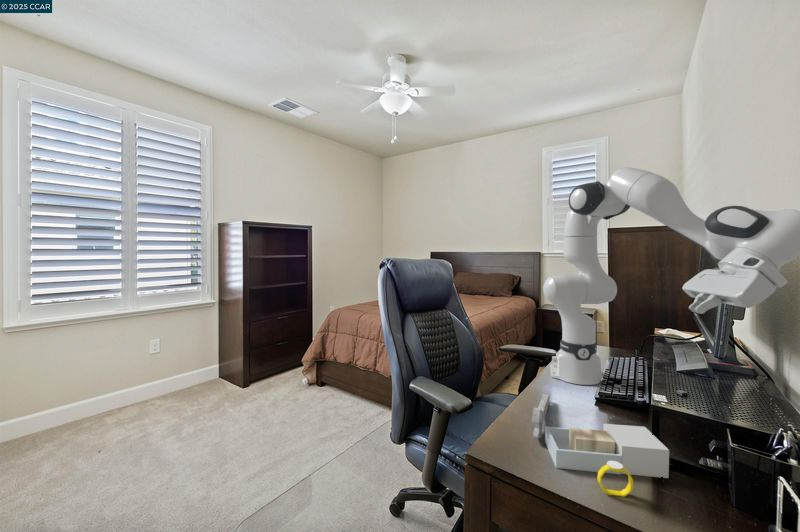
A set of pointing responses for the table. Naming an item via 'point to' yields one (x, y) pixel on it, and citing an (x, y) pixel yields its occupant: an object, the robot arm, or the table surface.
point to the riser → (639, 450)
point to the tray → (575, 453)
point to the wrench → (540, 415)
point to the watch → (616, 468)
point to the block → (591, 441)
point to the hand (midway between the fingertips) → (694, 311)
